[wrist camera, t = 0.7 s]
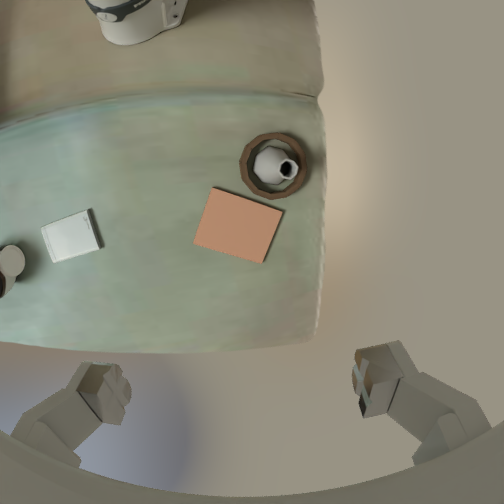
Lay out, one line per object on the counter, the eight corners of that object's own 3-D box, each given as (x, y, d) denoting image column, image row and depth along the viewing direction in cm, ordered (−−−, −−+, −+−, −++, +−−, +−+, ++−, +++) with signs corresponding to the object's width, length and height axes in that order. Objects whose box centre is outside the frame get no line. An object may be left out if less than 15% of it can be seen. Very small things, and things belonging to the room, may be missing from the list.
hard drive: (86, 210, 45) (39, 228, 44) (99, 249, 48) (53, 264, 47) (89, 208, 47) (43, 225, 45) (102, 247, 50) (56, 261, 48)
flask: (265, 139, 48) (280, 136, 39) (297, 159, 50) (318, 162, 41) (245, 172, 50) (256, 177, 40) (278, 191, 52) (295, 201, 43)
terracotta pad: (212, 187, 49) (212, 187, 49) (281, 211, 53) (282, 212, 53) (193, 242, 52) (193, 243, 52) (260, 262, 56) (261, 263, 56)
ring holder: (253, 124, 47) (255, 123, 45) (311, 149, 50) (315, 149, 48) (230, 184, 50) (231, 186, 48) (288, 205, 53) (292, 207, 51)
